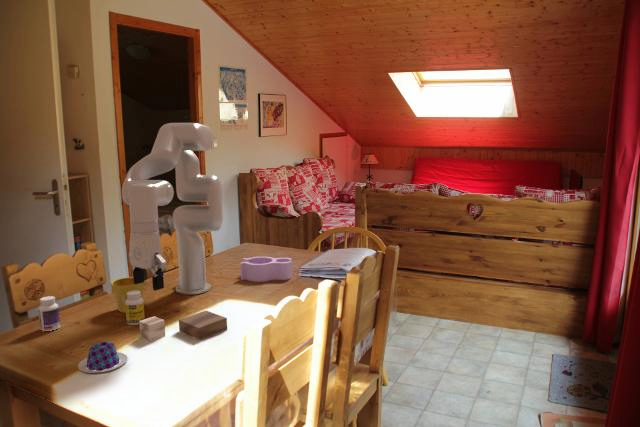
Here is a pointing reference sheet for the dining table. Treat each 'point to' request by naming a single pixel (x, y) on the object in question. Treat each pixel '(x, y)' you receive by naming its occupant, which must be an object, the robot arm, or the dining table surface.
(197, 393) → the dining table surface
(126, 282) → the plant pot
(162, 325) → the maple block
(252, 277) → the lavender double-well tray
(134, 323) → the supplement bottle
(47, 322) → the pill bottle
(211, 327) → the walnut block
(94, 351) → the purple patterned hat
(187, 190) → the robot arm
